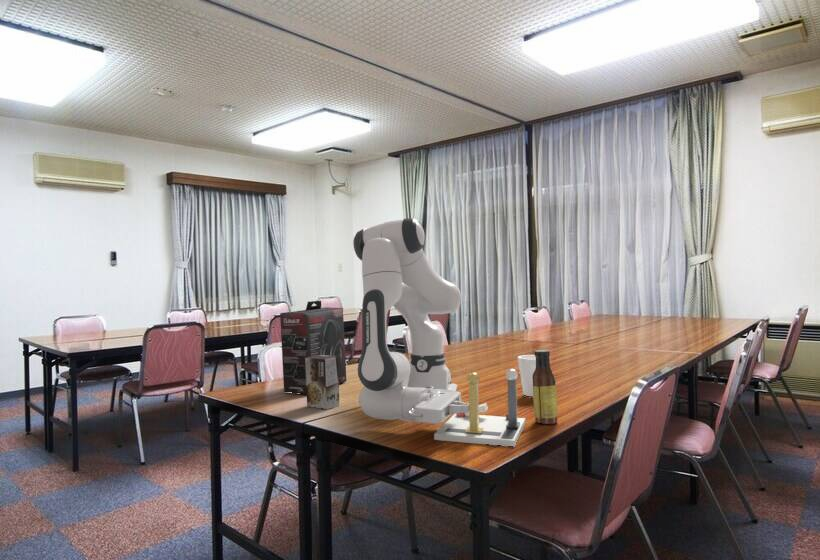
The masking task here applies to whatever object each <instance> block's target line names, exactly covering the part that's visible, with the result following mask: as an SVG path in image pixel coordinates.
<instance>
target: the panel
mask: <svg viewBox="0 0 820 560" xmlns="http://www.w3.org/2000/svg"><path fill="white" fill-rule="evenodd" d="M526 420H527V419H526V418H525V417H517V422H520V425H519V427H518V429H517V428H506V425H507V423H508V413H506V414H505V416H498V415H497V416H496V415H484V414H483V415H482V414H479V428H484V430H483V432H482V433H470V432H465V430H466V429H467V428H468V427H470V419H469V416H467V417H466V415H465V413H457V414H452V416H450V418H449V419H448V420H447V421H445V422H444V423H443V424H442V425H441V426H440V428H439V429H437V430H436V431H435V432H434V433H433V434H434V435H433V436H434V437H433V439H434V441H444V442H445V441H446V442H456V443H467V444H475V445H477V444H478V445H486V444H489V445H488V446H497V445H501V446H500V447H508V446H513V447H512V448H515V447H516V445H517V443H518V441H519V439H518V438H520V437H519V436H521V435H522V433H521V432H523V430H524V428H525V426H526V424H527V423H526V422H527V421H526ZM525 423H526V424H525ZM524 425H525V426H524ZM523 427H524V428H523ZM520 434H521V435H520ZM517 440H518V441H517ZM516 442H517V443H516Z"/></svg>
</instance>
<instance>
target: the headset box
mask: <svg viewBox="0 0 820 560" xmlns="http://www.w3.org/2000/svg"><path fill="white" fill-rule="evenodd" d="M314 304H315V305H314ZM279 316H280V334H281V335H280V337H281V341H280V342H281V357H282V378H283V379H282V381H283V393H284V392H292V393H300V394H299V395H301V394H307V389H306V364H305V358H306V357H310V356H314V355H329V356H338V374H339V385H340V384H344V383H345V382H347V366H346V365H347V363H346V362H347V361H346V344H345V342H346V341H345V325H344V324H345V323H344V322H345V321H344V308H343V307H331V306H330V307H329V306H327V307H322V300H312V301H307V304H306V307H305V310H304V309H301V310H296V311H295V310H294V311H287V312H280V313H279Z"/></svg>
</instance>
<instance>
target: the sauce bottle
mask: <svg viewBox="0 0 820 560" xmlns="http://www.w3.org/2000/svg"><path fill="white" fill-rule="evenodd" d="M534 355H535V357H536V369H535V371H534V373H533V376H532V377H533V399H532V400H533V413H534V419H535V422H536V423H537V422H538V423H537V424H540V423H542V424H541V425H546V424H547V425H548V424H549V425H554V424H557V423H558V413H559V412H558V401H557V386H556V385H557V384H556V379H555V377H554V374H553V372H552V371H553V370H552V368H551V364H550V355H551V353H550V350H548V349H536V350H534Z"/></svg>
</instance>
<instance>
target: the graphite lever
mask: <svg viewBox="0 0 820 560" xmlns="http://www.w3.org/2000/svg"><path fill="white" fill-rule="evenodd" d="M505 378H506V379H507V410H508V411H507V414H508V423H507V425H506V428H517V429H518V427H519V425H520V422H517V418H518V395H517V394H518V389H517V385H518V384H517V381H518V380H517V379H518V378H519V373H518V371H517V370H516V369H514V368H509V369H507V371H506V372H505Z"/></svg>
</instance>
